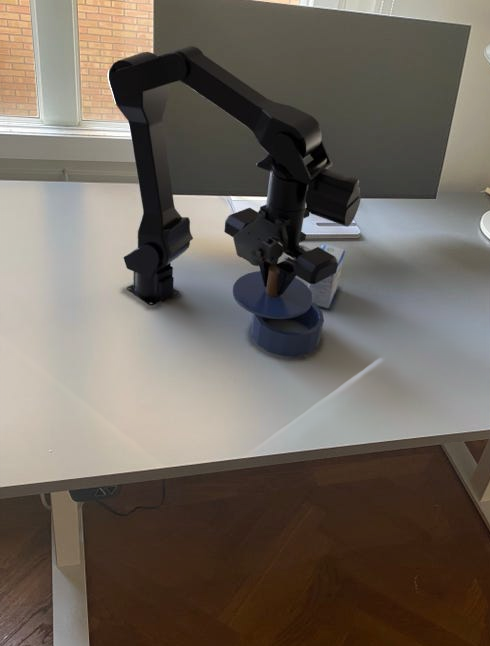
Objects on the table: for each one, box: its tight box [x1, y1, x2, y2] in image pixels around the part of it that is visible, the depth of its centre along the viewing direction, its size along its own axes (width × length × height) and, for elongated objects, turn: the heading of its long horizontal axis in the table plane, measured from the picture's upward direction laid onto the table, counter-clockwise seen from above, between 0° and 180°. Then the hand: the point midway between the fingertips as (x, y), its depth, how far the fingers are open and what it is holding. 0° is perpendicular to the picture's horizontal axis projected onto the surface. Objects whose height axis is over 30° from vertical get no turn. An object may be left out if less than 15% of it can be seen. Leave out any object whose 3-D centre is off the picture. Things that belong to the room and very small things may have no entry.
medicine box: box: [308, 244, 346, 309], centre depth 132 cm, size 8×4×9 cm, turn 168°
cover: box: [232, 265, 313, 320], centre depth 114 cm, size 13×13×6 cm
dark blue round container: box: [250, 302, 325, 357], centre depth 121 cm, size 12×12×5 cm
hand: (273, 290), depth 115 cm, fingers closed on cover, 2 cm apart
